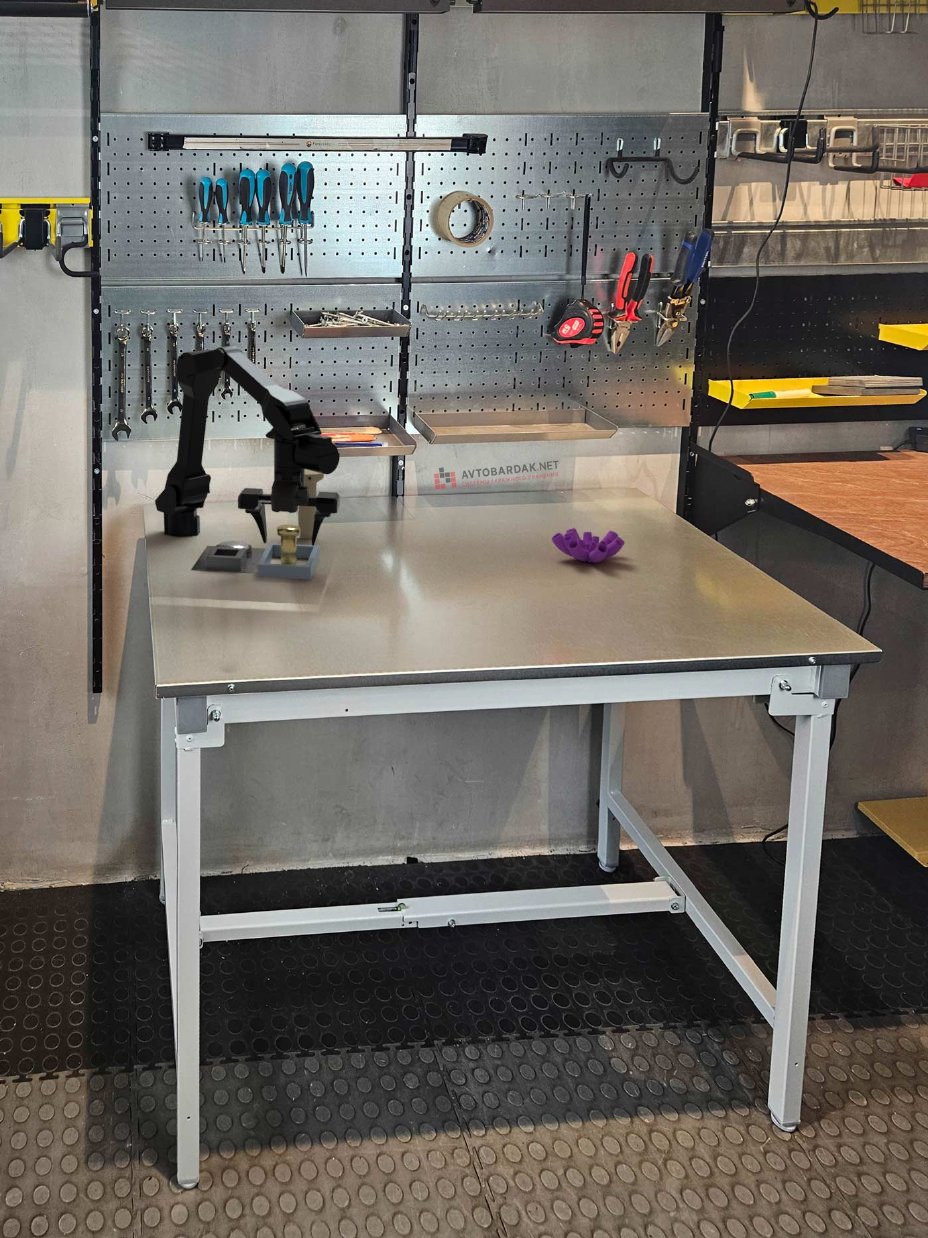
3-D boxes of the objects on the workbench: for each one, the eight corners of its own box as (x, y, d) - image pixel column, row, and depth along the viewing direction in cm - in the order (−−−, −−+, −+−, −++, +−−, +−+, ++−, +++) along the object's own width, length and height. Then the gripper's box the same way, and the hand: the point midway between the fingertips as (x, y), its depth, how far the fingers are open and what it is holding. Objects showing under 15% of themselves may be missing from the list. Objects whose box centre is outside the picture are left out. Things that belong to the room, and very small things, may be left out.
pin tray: (257, 582, 247) (257, 564, 245) (268, 560, 260) (268, 543, 258) (310, 585, 247) (310, 567, 245) (319, 562, 260) (319, 545, 259)
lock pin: (275, 571, 251) (275, 530, 248) (279, 564, 255) (278, 524, 252) (298, 572, 251) (298, 531, 248) (301, 565, 255) (301, 525, 252)
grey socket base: (190, 576, 248) (190, 557, 247) (207, 551, 263) (206, 534, 262) (253, 579, 248) (253, 561, 247) (266, 554, 263) (266, 537, 262)
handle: (324, 544, 272) (325, 474, 266) (293, 545, 270) (293, 474, 265) (321, 538, 276) (322, 468, 271) (290, 538, 274) (291, 468, 269)
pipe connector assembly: (621, 581, 269) (625, 554, 261) (548, 575, 270) (550, 548, 262) (623, 537, 275) (627, 509, 267) (552, 532, 276) (554, 504, 268)
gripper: (232, 472, 238) (233, 554, 244) (334, 477, 238) (333, 558, 244) (242, 458, 249) (243, 537, 254) (340, 463, 249) (339, 541, 254)
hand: (289, 543), depth 251 cm, fingers open, 9 cm apart
